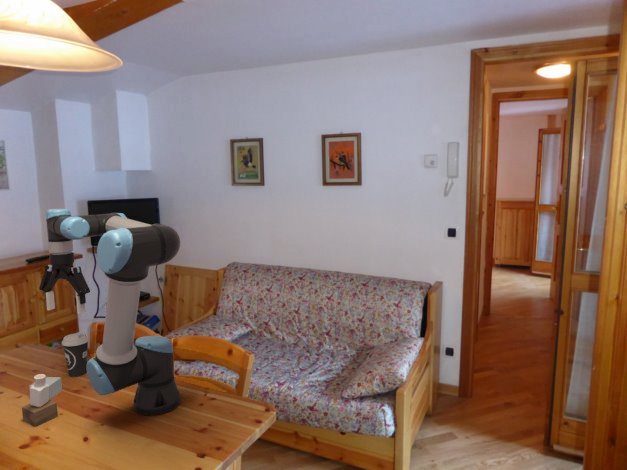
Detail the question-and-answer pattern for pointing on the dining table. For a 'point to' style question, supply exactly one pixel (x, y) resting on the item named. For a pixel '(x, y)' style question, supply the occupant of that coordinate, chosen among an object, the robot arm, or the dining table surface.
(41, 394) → the pepper shaker
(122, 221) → the robot arm
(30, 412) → the walnut block
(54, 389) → the grey-blue block
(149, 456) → the dining table surface
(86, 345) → the coffee cup
